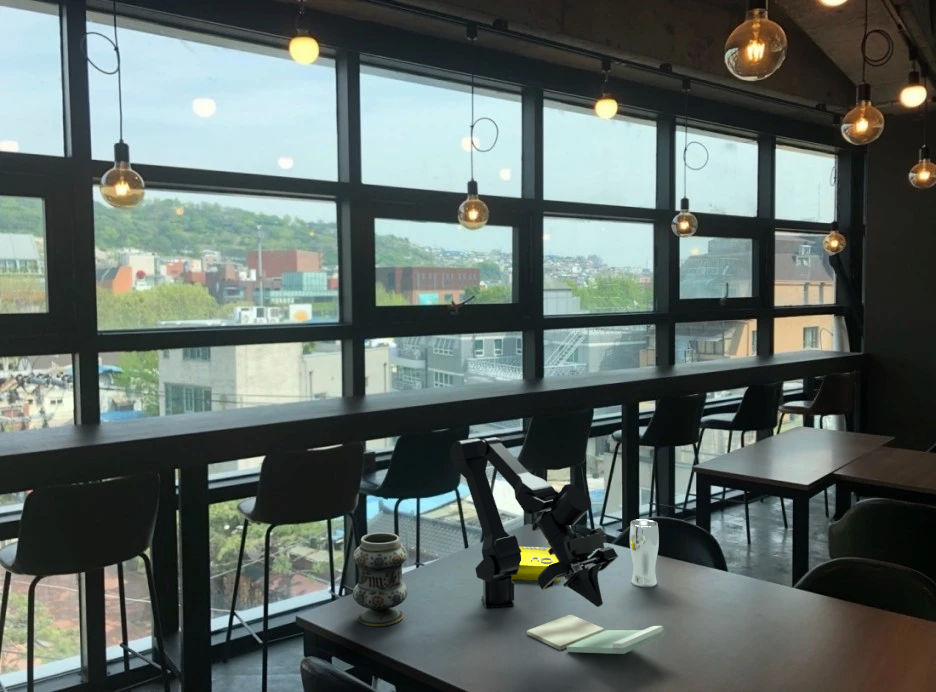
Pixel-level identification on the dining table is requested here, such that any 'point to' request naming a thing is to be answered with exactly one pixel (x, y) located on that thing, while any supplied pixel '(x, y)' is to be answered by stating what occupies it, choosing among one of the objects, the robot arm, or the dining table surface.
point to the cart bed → (564, 631)
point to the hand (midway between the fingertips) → (600, 605)
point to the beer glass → (644, 551)
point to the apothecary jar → (380, 578)
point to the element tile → (534, 562)
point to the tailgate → (617, 641)
